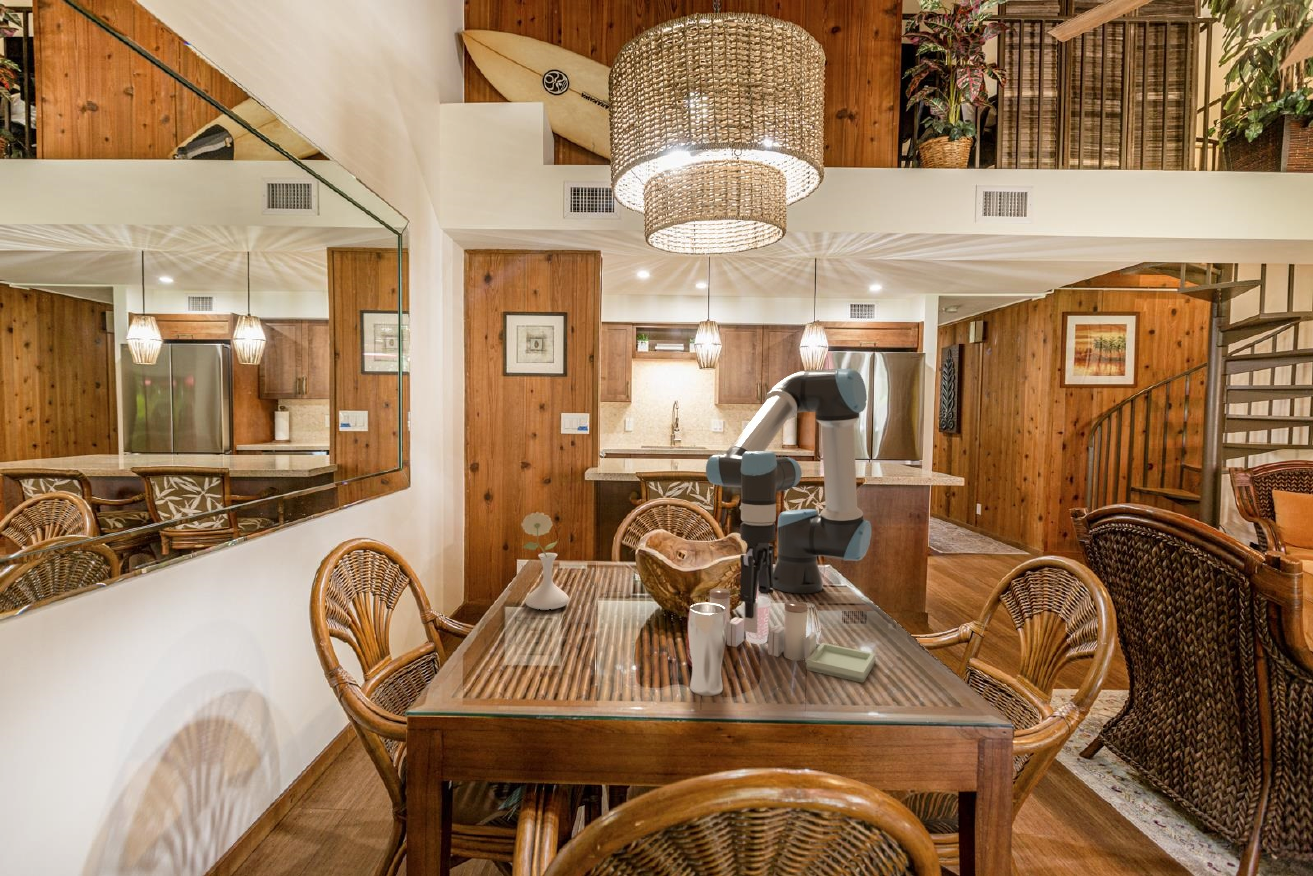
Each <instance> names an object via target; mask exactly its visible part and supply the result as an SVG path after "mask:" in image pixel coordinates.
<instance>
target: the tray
mask: <svg viewBox="0 0 1313 876" xmlns="http://www.w3.org/2000/svg"><path fill="white" fill-rule="evenodd" d="M819 645H820V646H819V647H818V648H817V649H816V650H815V651H814V652H813V653H812V654H811V655H810V657H809V658H808V659H807V660H806V663H805V664H806V667H805V669H806V671H809V670H810V672H815V673H820V674H822V673H823V675H827V676H832V677H837V678H840V679H844V680H847V681H848V680H849V681H853V682H858V683H861V684H864V683H865V680H866V679H867V677H868V676H869V674H870V672H871V671H872V669H873V667H874V666H875V664H876V653H874V652H870V651H869V652H868V651H864V650H858V649H854V648H850V647H844V646H840V645H839V646H838V645H835V644H831V643H830V644H829V643H825V642H821V644H819Z"/></svg>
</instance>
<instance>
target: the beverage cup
mask: <svg viewBox="0 0 1313 876" xmlns="http://www.w3.org/2000/svg"><path fill="white" fill-rule="evenodd" d="M758 592H759V591H758V587H757V595H756V602H758V619H757V633H752V632H747V631H746V637H745V640H746V642H747V643H750V644H755V645H763V644H765V643H768V642H767V637H768V631H769V623H770V609H771V607H770V606H771V605H772V599H771V598H770V597H769V598H768V597H764V596H758ZM742 603H743V605H744V606H745V602H743V601H742ZM744 606H743V607H744Z"/></svg>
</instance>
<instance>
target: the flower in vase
mask: <svg viewBox="0 0 1313 876" xmlns="http://www.w3.org/2000/svg"><path fill="white" fill-rule="evenodd" d="M520 525H521V527H522V529H523V530H524V533H526V534H528V535H532V536H533V537H536V540H537V542H533V541H530V542H529V541H528V542H527V543H526V544H524V545H523V547H522V549H526V550H531V551H535V550H536V549H537V548H538V547H539V548H540V549H541V551H542V553H539V554H538V558H539V559H540V562H541V563H542V571H543V575H542V582H541V584H540V585H538V587H536V588H535V589H534V590H533V591H531V592H530V593H529V594H528V595H527V596H526V598H525V604H526V605H527V607H529V608H532V609H535V610H539V609H540V610H541V611H546V610H547V611H550V610H549V609H551V610H556V609H559V608H563V607H565V606H567V605H568V603H569V602H570V597H569V596H568V594H567V593H566V592H565V591H563V589H561V588H560V587H558V586H557V585H556V584H555V583H554V580H553V566H554V562H555V560H556V558H558V553H555V552H546V551H548V550H551V549H553V548H554V547H556V545H557V543H558V540H556V541H555V542H552V543H548V544H547V545H546V546H545V547H544V548H543V547H542V546H541V544H540V542H539V541H540V540H539V537H541V536H543V535H545V534H547V533H548V534H549V533H550V530H551V529H552V527H553V525H554V524H553V521H552V518H551V517H550V515H549V514H548V515H547V514H545V513H544V512H541V513H540V512H539V511H536V512H531V513H530V514H527V515H526V516H525V517H524V519H523V520H522V522H521V523H520Z"/></svg>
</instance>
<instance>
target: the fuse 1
mask: <svg viewBox="0 0 1313 876" xmlns="http://www.w3.org/2000/svg"><path fill="white" fill-rule="evenodd" d="M709 603H712V604H718V605H721V606H723V607H724V608H725V614H726V642H725V644H727V622H729V621H730V620H731V619H730V617H731V616H730V615H731V613H730V611H731V607H730V605H731V604H730V603H731V591H730V590H729V589H726V588H718V587H717V588H712V589H709Z"/></svg>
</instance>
